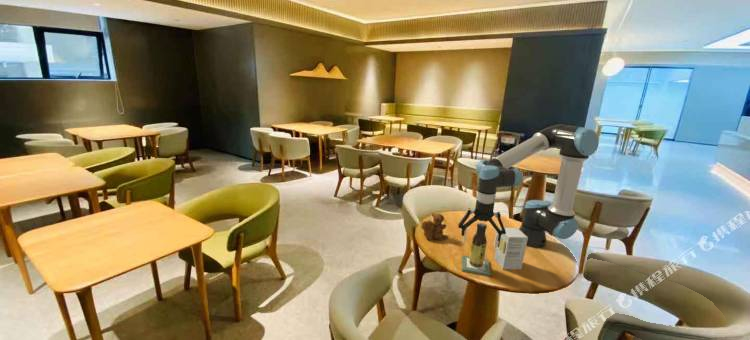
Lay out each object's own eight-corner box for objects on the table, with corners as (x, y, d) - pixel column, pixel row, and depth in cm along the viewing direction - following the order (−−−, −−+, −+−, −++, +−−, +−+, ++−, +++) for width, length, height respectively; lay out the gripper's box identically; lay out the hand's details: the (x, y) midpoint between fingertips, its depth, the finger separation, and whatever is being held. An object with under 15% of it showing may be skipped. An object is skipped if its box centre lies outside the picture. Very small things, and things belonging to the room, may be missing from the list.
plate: (487, 261, 147) (488, 259, 147) (490, 276, 136) (490, 273, 136) (461, 257, 150) (462, 254, 150) (462, 271, 139) (462, 268, 138)
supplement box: (493, 258, 150) (498, 227, 146) (511, 258, 151) (517, 227, 146) (502, 270, 141) (508, 237, 137) (522, 269, 142) (528, 237, 137)
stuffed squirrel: (449, 239, 167) (452, 216, 164) (427, 243, 161) (430, 220, 158) (438, 230, 176) (440, 209, 172) (417, 235, 170) (419, 213, 166)
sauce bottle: (481, 269, 138) (487, 229, 133) (467, 264, 142) (472, 225, 136) (484, 262, 144) (490, 224, 138) (471, 258, 147) (476, 220, 141)
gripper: (514, 201, 135) (507, 244, 141) (456, 194, 140) (451, 236, 146) (517, 207, 128) (510, 252, 134) (455, 200, 133) (451, 244, 139)
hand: (479, 244), depth 140 cm, fingers open, 13 cm apart
